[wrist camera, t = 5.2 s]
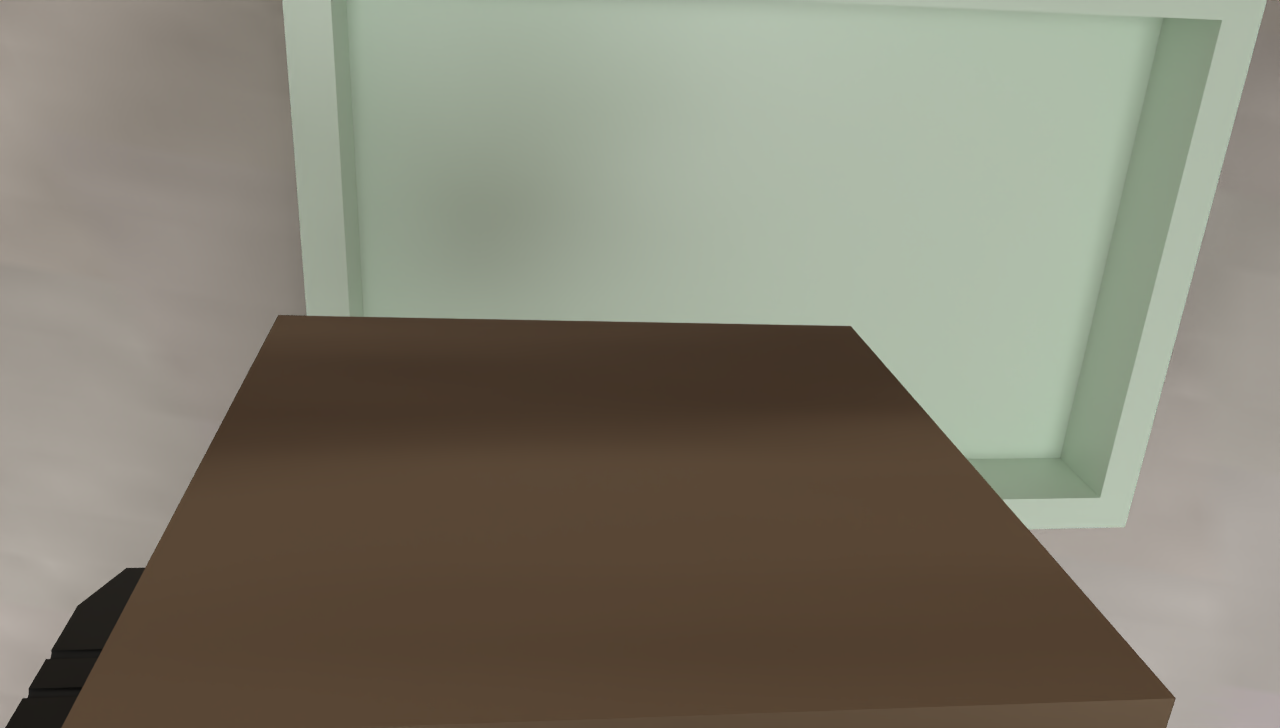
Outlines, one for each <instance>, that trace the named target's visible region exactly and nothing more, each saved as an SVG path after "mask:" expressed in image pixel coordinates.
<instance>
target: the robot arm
mask: <svg viewBox="0 0 1280 728" xmlns="http://www.w3.org/2000/svg"><path fill="white" fill-rule="evenodd" d="M144 570H145V568H126V569H125V570H123V571H122V572H121V573H120V574H118V575H117V576H116V577H114V578H113V579H112V580H110V581H109V582H108V583H107V584H105V585H104V586H103V587H101V588H100V589H99V590H98V591H96V592H95V593H94V594H92V595H91V596H90V597H88V598H87V599H86V600H85V601H83V602H82V603H81V604H79V605H78V606H77V608H76V610H75V611H74V613H73V615H72V616H71V618H70V620H69V622H68V623H67V625H66V627H65V628H64V630H63V632H62V633H61V635H60V637H59V638H58V640H57V642H56V643H55V645H54V647H53V648H52V650H51V651H52V654H51V659H46V660H45V662H44V664H43V665H42V667H41V669H40V670H39V672H38V674H37V675H36V677H35V679H34V680H33V682H32V684H31V685H30V687H29V695H28V698H23V699H22V701H21V702H20V704H19V706H18V707H17V709H16V711H15V712H14V714H13V716H12V717H11V719H10V721H9V722H8V724H7V726H6V727H5V728H61V727H62V726H63V724H64V722H65V720H66V718H67V716H68V714H69V712H70V710H71V708H72V707H73V705H74V703H75V701H76V699H77V697H78V695H79V693H80V691H81V689H82V688H83V686H84V684H85V682H86V680H87V678H88V676H89V674H90V672H91V670H92V669H93V667H94V665H95V663H96V661H97V659H98V657H99V655H100V653H101V651H102V650H103V648H104V646H105V644H106V642H107V640H108V638H109V636H110V634H111V632H112V631H113V629H114V627H115V625H116V623H117V621H118V619H119V617H120V615H121V613H122V611H123V610H124V608H125V606H126V604H127V602H128V600H129V598H130V596H131V594H132V592H133V591H134V589H135V587H136V585H137V583H138V581H139V579H140V577H141V575H142V573H143V572H144Z"/></svg>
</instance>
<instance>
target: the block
mask: <svg viewBox="0 0 1280 728" xmlns="http://www.w3.org/2000/svg"><path fill="white" fill-rule="evenodd" d="M1175 699H1176V698H1175V697H1174V696H1173V695H1172V694H1171V692H1170V691H1169V690H1168V689H1167V688H1166V687H1165V686H1164V684H1163V683H1162V682H1161V681H1160V680H1159V679H1158V678H1157V676H1156V675H1155V674H1154V673H1153V672H1152V671H1151V669H1150V668H1149V667H1148V666H1147V665H1146V664H1145V663H1144V661H1143V660H1142V659H1141V658H1140V657H1139V656H1138V655H1137V653H1136V652H1135V651H1134V650H1133V649H1132V648H1131V647H1130V645H1129V644H1128V643H1127V642H1126V641H1125V640H1124V639H1123V637H1122V636H1121V635H1120V634H1119V633H1118V632H1117V631H1116V629H1115V628H1114V627H1113V626H1112V625H1111V624H1110V622H1109V621H1108V620H1107V619H1106V618H1105V617H1104V616H1103V614H1102V613H1101V612H1100V611H1099V610H1098V609H1097V608H1096V606H1095V605H1094V604H1093V603H1092V602H1091V601H1090V600H1089V598H1088V597H1087V596H1086V595H1085V594H1084V593H1083V592H1082V590H1081V589H1080V588H1079V587H1078V586H1077V585H1076V584H1075V582H1074V581H1073V580H1072V579H1071V578H1070V577H1069V575H1068V574H1067V573H1066V572H1065V571H1064V570H1063V569H1062V567H1061V566H1060V565H1059V564H1058V563H1057V562H1056V561H1055V559H1054V558H1053V557H1052V556H1051V555H1050V554H1049V553H1048V551H1047V550H1046V549H1045V548H1044V547H1043V546H1042V545H1041V543H1040V542H1039V541H1038V540H1037V539H1036V538H1035V537H1034V535H1033V534H1032V533H1031V532H1030V531H1029V530H1028V528H1027V527H1026V526H1025V525H1024V524H1023V523H1022V522H1021V520H1020V519H1019V518H1018V517H1017V516H1016V515H1015V514H1014V512H1013V511H1012V510H1011V509H1010V508H1009V507H1008V506H1007V504H1006V503H1005V502H1004V501H1003V500H1002V499H1001V498H1000V496H999V495H998V494H997V493H996V492H995V491H994V490H993V488H992V487H991V486H990V485H989V484H988V483H987V481H986V480H985V479H984V478H983V477H982V476H981V475H980V473H979V472H978V471H977V470H976V469H975V468H974V467H973V465H972V464H971V463H970V462H969V461H968V460H967V459H966V457H965V456H964V455H963V454H962V453H961V452H960V451H959V449H958V448H957V447H956V446H955V445H954V444H953V442H952V441H951V440H950V439H949V438H948V437H947V436H946V434H945V433H944V432H943V431H942V430H941V429H940V428H939V426H938V425H937V424H936V423H935V422H934V421H933V420H932V418H931V417H930V416H929V415H928V414H927V413H926V412H925V410H924V409H923V408H922V407H921V406H920V405H919V404H918V402H917V401H916V400H915V399H914V398H913V397H912V395H911V394H910V393H909V392H908V391H907V390H906V389H905V387H904V386H903V385H902V384H901V383H900V382H899V381H898V379H897V378H896V377H895V376H894V375H893V374H892V373H891V371H890V370H889V369H888V368H887V367H886V366H885V365H884V363H883V362H882V361H881V360H880V359H879V358H878V357H877V355H876V354H875V353H874V352H873V351H872V350H871V348H870V347H869V346H868V345H867V344H866V343H865V342H864V340H863V339H862V338H861V337H860V336H859V335H858V334H857V332H856V331H855V330H854V329H853V328H852V327H851V326H825V325H772V324H719V323H666V322H613V321H560V320H507V319H454V318H401V317H348V316H295V315H278V317H277V319H276V321H275V323H274V324H273V326H272V328H271V330H270V332H269V334H268V336H267V338H266V340H265V342H264V343H263V345H262V347H261V349H260V351H259V353H258V355H257V357H256V359H255V361H254V362H253V364H252V366H251V368H250V370H249V372H248V374H247V376H246V378H245V380H244V381H243V383H242V385H241V387H240V389H239V391H238V393H237V395H236V397H235V399H234V401H233V402H232V404H231V406H230V408H229V410H228V412H227V414H226V416H225V418H224V420H223V421H222V423H221V425H220V427H219V429H218V431H217V433H216V435H215V437H214V439H213V440H212V442H211V444H210V446H209V448H208V450H207V452H206V454H205V456H204V458H203V459H202V461H201V463H200V465H199V467H198V469H197V471H196V473H195V475H194V477H193V478H192V480H191V482H190V484H189V486H188V488H187V490H186V492H185V494H184V496H183V497H182V499H181V501H180V503H179V505H178V507H177V509H176V511H175V513H174V515H173V516H172V518H171V520H170V522H169V524H168V526H167V528H166V530H165V532H164V534H163V535H162V537H161V539H160V541H159V543H158V545H157V547H156V549H155V551H154V553H153V554H152V556H151V558H150V560H149V562H148V564H147V566H146V568H145V570H144V572H143V573H142V575H141V577H140V579H139V581H138V583H137V585H136V587H135V589H134V591H133V592H132V594H131V596H130V598H129V600H128V602H127V604H126V606H125V608H124V610H123V611H122V613H121V615H120V617H119V619H118V621H117V623H116V625H115V627H114V629H113V631H112V632H111V634H110V636H109V638H108V640H107V642H106V644H105V646H104V648H103V650H102V651H101V653H100V655H99V657H98V659H97V661H96V663H95V665H94V667H93V669H92V670H91V672H90V674H89V676H88V678H87V680H86V682H85V684H84V686H83V688H82V689H81V691H80V693H79V695H78V697H77V699H76V701H75V703H74V705H73V707H72V708H71V710H70V712H69V714H68V716H67V718H66V720H65V722H64V724H63V726H62V727H61V728H1166V727H1167V723H1168V720H1169V717H1170V714H1171V711H1172V708H1173V705H1174V702H1175Z"/></svg>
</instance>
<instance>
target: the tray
mask: <svg viewBox="0 0 1280 728" xmlns="http://www.w3.org/2000/svg"><path fill="white" fill-rule="evenodd" d="M282 2H283V15H284V28H285V41H286V54H287V67H288V80H289V93H290V106H291V119H292V132H293V145H294V158H295V171H296V184H297V197H298V210H299V223H300V236H301V248H302V261H303V274H304V287H305V300H306V313H307V316H348V317H401V318H454V319H507V320H560V321H613V322H666V323H719V324H772V325H825V326H851V327H852V328H853V329H854V330H855V331H856V332H857V334H858V335H859V336H860V337H861V338H862V339H863V340H864V342H865V343H866V344H867V345H868V346H869V347H870V348H871V350H872V351H873V352H874V353H875V354H876V355H877V357H878V358H879V359H880V360H881V361H882V362H883V363H884V365H885V366H886V367H887V368H888V369H889V370H890V371H891V373H892V374H893V375H894V376H895V377H896V378H897V379H898V381H899V382H900V383H901V384H902V385H903V386H904V387H905V389H906V390H907V391H908V392H909V393H910V394H911V395H912V397H913V398H914V399H915V400H916V401H917V402H918V404H919V405H920V406H921V407H922V408H923V409H924V410H925V412H926V413H927V414H928V415H929V416H930V417H931V418H932V420H933V421H934V422H935V423H936V424H937V425H938V426H939V428H940V429H941V430H942V431H943V432H944V433H945V434H946V436H947V437H948V438H949V439H950V440H951V441H952V442H953V444H954V445H955V446H956V447H957V448H958V449H959V451H960V452H961V453H962V454H963V455H964V456H965V457H966V459H967V460H968V461H969V462H970V463H971V464H972V465H973V467H974V468H975V469H976V470H977V471H978V472H979V473H980V475H981V476H982V477H983V478H984V479H985V480H986V481H987V483H988V484H989V485H990V486H991V487H992V488H993V490H994V491H995V492H996V493H997V494H998V495H999V496H1000V498H1001V499H1002V500H1003V501H1004V502H1005V503H1006V504H1007V506H1008V507H1009V508H1010V509H1011V510H1012V511H1013V512H1014V514H1015V515H1016V516H1017V517H1018V518H1019V519H1020V520H1021V522H1022V523H1023V524H1024V525H1025V526H1026V527H1027V528H1028V529H1065V528H1114V527H1125V525H1126V521H1127V518H1128V514H1129V510H1130V506H1131V503H1132V499H1133V495H1134V492H1135V488H1136V484H1137V480H1138V477H1139V473H1140V469H1141V466H1142V462H1143V458H1144V455H1145V451H1146V447H1147V443H1148V440H1149V436H1150V432H1151V429H1152V425H1153V421H1154V417H1155V414H1156V410H1157V406H1158V403H1159V399H1160V395H1161V391H1162V388H1163V384H1164V380H1165V377H1166V373H1167V369H1168V365H1169V362H1170V358H1171V354H1172V351H1173V347H1174V343H1175V339H1176V336H1177V332H1178V328H1179V325H1180V321H1181V317H1182V313H1183V310H1184V306H1185V302H1186V299H1187V295H1188V291H1189V288H1190V284H1191V280H1192V276H1193V273H1194V269H1195V265H1196V262H1197V258H1198V254H1199V250H1200V247H1201V243H1202V239H1203V236H1204V232H1205V228H1206V224H1207V221H1208V217H1209V213H1210V210H1211V206H1212V202H1213V198H1214V195H1215V191H1216V187H1217V184H1218V180H1219V176H1220V172H1221V169H1222V165H1223V161H1224V158H1225V154H1226V150H1227V146H1228V143H1229V139H1230V135H1231V132H1232V128H1233V124H1234V121H1235V117H1236V113H1237V109H1238V106H1239V102H1240V98H1241V95H1242V91H1243V87H1244V83H1245V80H1246V76H1247V72H1248V69H1249V65H1250V61H1251V57H1252V54H1253V50H1254V46H1255V43H1256V39H1257V35H1258V31H1259V28H1260V24H1261V20H1262V17H1263V13H1264V9H1265V5H1266V2H1267V0H282Z"/></svg>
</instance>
